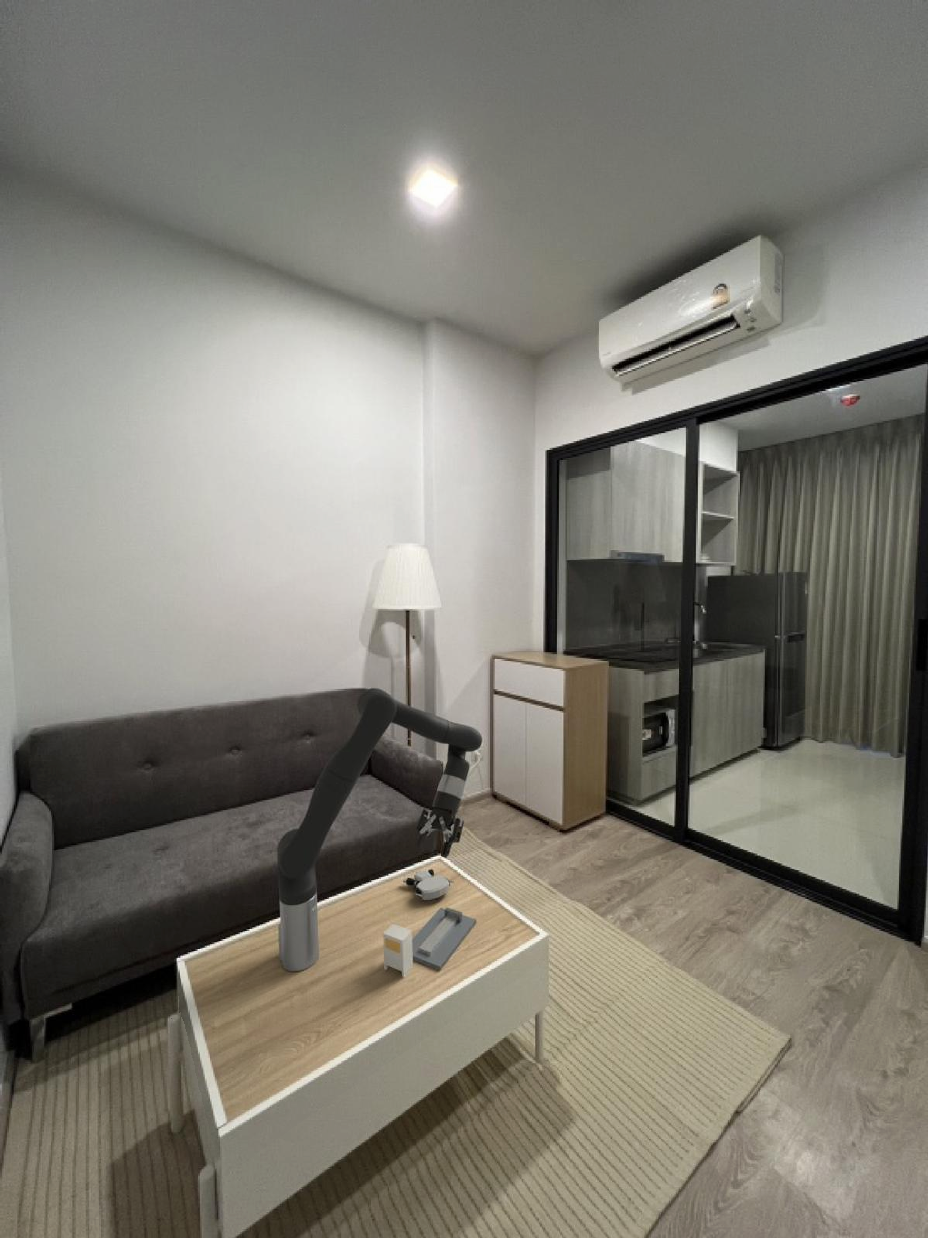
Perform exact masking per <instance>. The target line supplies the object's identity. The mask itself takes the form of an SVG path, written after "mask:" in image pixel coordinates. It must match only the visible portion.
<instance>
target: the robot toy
mask: <svg viewBox="0 0 928 1238" xmlns="http://www.w3.org/2000/svg"><path fill="white" fill-rule="evenodd" d="M413 874H414V875H413V878H412V877H407V878H406V877H405V878H403V879H402V883H404V884H405V883H406V886H411V887H412V886H414V885H415V886H416V887H415V896H417V897H418V898H419V899H421V900H423V901H430V900H435V899H437V898H440V897H443V896H444V895H446V894H447V893H449V891H450V888H451V883H452V884H456V881H454V880H450V879H448V878H446V877H445V876H443V875H435V870H434V869H433V868H430V869H428V870H420V871H417V872H414V873H413Z"/></svg>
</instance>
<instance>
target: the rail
mask: <svg viewBox="0 0 928 1238" xmlns="http://www.w3.org/2000/svg"><path fill="white" fill-rule="evenodd" d="M444 909H445V910H444V912H445V918H444V919H443V921H442V922H441V923H440V924H439V925H438V926H437V927H436V929H435V930H434V931H433V932H432V933H431V934H430V936H429V937H428V938H427V939H426V940H425V941H424V943H423V944H422V945H421V946H420V947H419V952H422V953H424V954H427V955H429V956H431V954H432V953H433V952H434V951H435V950H436V948H437V947H438V946H439V945H440V943H441V942H442V941H443V940H444V938H445V937H446V936H447V935H448V934H449V932H450V931H451V930H452V929H453V927H454V926H455V925H456V924H457V922H459V923H461V922H462V915H463V912H462V911H460V910H456V909H453V908H450V907H445V908H444Z"/></svg>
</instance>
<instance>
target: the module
mask: <svg viewBox="0 0 928 1238" xmlns="http://www.w3.org/2000/svg"><path fill="white" fill-rule="evenodd" d="M382 936H383V937H382V939H383V941H382V942H383V963H384V964H383V969H384V970H385V971H386V970H388V968H389V967H391V968H393V969H395V970H398V971H400V972H401V977H402V978H405V977H406V975H407V974H409V972H410V971H411V969H413V967H414V960H413V953H412V939H413V931H412V930H410V929H408V928H406V927H403V926H400V925H397V924H395V923H392V924H391V925H390V926H389V927H387V929H386V930H385V931H384V932H383V933H382Z"/></svg>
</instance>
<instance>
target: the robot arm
mask: <svg viewBox="0 0 928 1238" xmlns="http://www.w3.org/2000/svg"><path fill="white" fill-rule="evenodd" d="M356 709H357V711H358V714H359V715H360V716H361V717H360V719H359V721H358V724H357V725H356V727H355V730H353V732H352V735H350V738H349V739H348V740H347V741H346V742H344V744H342V746H341V747H340V748H338V749H337V751H335V752H334V754H332V756H331V757H330V759H329V760H328V761H327V763H326V765H325V766H324V768H323V771H322V772H321V774H320V775H319V778H318V780H317V782H316V783H315V786H314V789H313V792H312V794H311V798H310V800H309V803H308V808H307V810H306V813H305V816H304V818H303V820H302V822H301V824H300V826H299V827H298V828H296V829H295V828H293V829H291V830H289V831H287V832H286V833H285V834H284V835H282V836H281V838H280V840H279V842H278V844H277V848H276V851H277V853H276V854H277V859H276V860H277V873H278V874H277V877H278V879H277V880H278V881H277V882H278V895H279V897H278V898H279V915H280V916H279V917H280V922H279V924H278V929H277V932H278V934H277V935H278V955H279V961H281V963H282V967H283V968H284V969H285V971H289V972H300V971H304V970H307V969H309V968H310V967H311V966H313V965H314V964H315V963H316V962H317V960H318V959H319V956H320V944H319V943H320V942H319V919H318V918H319V917H318V916H319V915H318V912H319V911H318V892H317V889H318V888H317V877H316V866H315V863H316V862H317V859H318V857H319V854H320V851H322V850H321V849H322V847H323V844H324V842H325V840H326V837H327V836H328V833H329V831H330V829H331V827H332V826H333V823H334V822H335V821H336V819H337V817H338V815H339V814H340V812H341V810H342V809H343V807H344V804H345V803H346V801H347V799H348V798H349V796H350V794H351V792H352V791H353V789H354V787H355V786H356V784H357V782H358V780H359V778H360V776H361V773H362V772H363V770H364V768H365V766H366V764H367V763H368V761H369V759H370V757H371V756H372V753H373V752H374V749H375V748H376V746H377V745H378V743H379V741H380V739H381V738H382V737H383V735H384V734H385V733H386V731H387V730H388V728H389V727H390V725H391V724H395V725H397V726H400V727H402V728H404V729H407V730H408V731H411V732H412V733H415V734H416V735H418V736H420V737H423V738H425V739H428V740H431V741H433V742H436V743H439V744H444V745H447V747H448V748H447V754H446V755H447V758H446V759H447V761H446V764H445V766H444V770H443V773H442V776H441V779H440V780H439V783H438V787H437V789H436V791H435V792H436V793H435V796H434V799H433V802H432V810H431V811H429V810H428V809H425V808H424V809H423V810H422V811H421V814H420V816H419V819H418V822H417V825H416V828H415V830H416V831H418V832H419V833H420V835H419V837H418V841H417V844H416V845H417V846H416V847H417V850H420V851H424V849H425V847H426V843H427V840H428V836H429V835H430V834H431V833H433V832H434V831H435V830H436V831H440V832H442V834H443V836H444V839H445V841H444V842H443V845H442V848H441V852H440V857H442V858H444V859H446V858H447V857H448V856H450V852H451V849H452V845H453V844H458V843H460V841H461V837H462V832H463V828H464V823H465V820H464V819H462V818H459V817H456V815H457V814H458V813H459V809H460V805H461V802H462V799H463V797H464V796H463V795H464V792H465V785H466V781H467V778H468V775H469V772H470V767H471V764H470V762H469V761H468V760H466V755H467V752H469V753H471V752H472V753H473V752H476V751H477V750H479V749H480V748H481V746H482V744H483V737H482V734H481V732H480V731H479V730H478V729H476V728H475V727H473V726H470V725H467V724H463V723H462V724H461V723H457V722H453V721H450V720H448V719H445V718H444V717H440V716H439V715H435V714H432V713H429V712H427V711H424V710H421V709H418V708H415V707H412V706H410V705H408V704H406V703H403V702H401V701H399V700H397V699H396V698H394V697H393V696H392V695H391V694H389V693H388V692H387V691H384V690H383V689H380V688H377V687H371V688H367V689H366V690H364V691H362V692H361V693H360V694H359V696H358V698H357V700H356Z"/></svg>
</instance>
